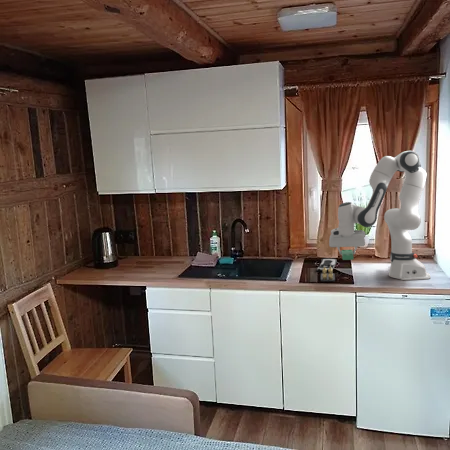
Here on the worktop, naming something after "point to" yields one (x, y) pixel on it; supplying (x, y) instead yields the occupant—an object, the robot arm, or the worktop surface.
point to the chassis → (327, 275)
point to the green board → (347, 255)
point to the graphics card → (326, 264)
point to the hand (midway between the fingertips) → (347, 254)
